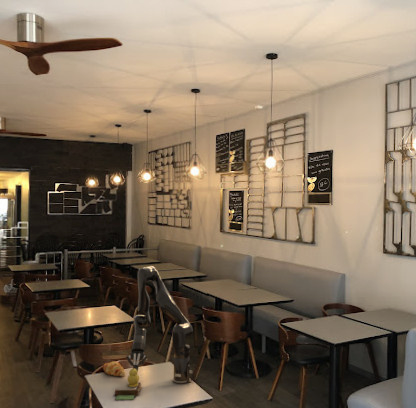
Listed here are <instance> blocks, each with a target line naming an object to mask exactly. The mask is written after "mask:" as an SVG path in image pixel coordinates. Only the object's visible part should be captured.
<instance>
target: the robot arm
mask: <svg viewBox="0 0 416 408" xmlns="http://www.w3.org/2000/svg"><path fill="white" fill-rule="evenodd" d="M148 282H151V283H152V284H153V286H154V287H155V301H156V304H157V305H158V307H159V308H160V310H161V311H162V312H163V313H164V314H165V315H167V316H168V317H169V318H171V319H172V320H173V321H174V322H175V325H174V326H173V328H172V333H171V337H172V347H173V378H172V379H173V382H174V383H176V384H186V383H190V380H191V381H193V380H194V379H195V374H194V373H193V369H191V358H190V357H191V346H190V345H189V344H187V343H186V339H188V338H191V337H192V336H193V333H194V328H193V326H192V324H191V323H190V321H189V320H188V319H187V318H186V317H185V315H184V314H183V312H182V311H181V309H180V307H179V306H178V305H177V303H176V301H175V300H174V298H173V296H172V295H171V293H170V292H169V290H168V289H167V287H166V285H165V283H164V282H163V279H162V278H161V275H160V274H159V272H158V269H157V268H156V266H153V265H148V266H144V267H140V268H139V269H138V271H137V288H138V301H137V312H138V313H139V314H136V315H135V316H134V317H133V325H134V335H133V340H132V345H131V351H130V354H129V355H127V356H125V358H126V361H127V362H128V364H129V366H130V367H133V366H134V369H136V370H137V372H139V367H142V366H143V365H144V364H145V363H146V362H147V361H148V360H149V358H148V356H147V355H146V353H145V350H146V342H147V341H146V338H147V329H146V328H147V327H149V326H150V325H151V323H152V320H151V319H152V318H151V315H150V304H151V298H150V295H149V293H148V291H147V288H146V287H147V283H148ZM131 359H132V360H131Z"/></svg>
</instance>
